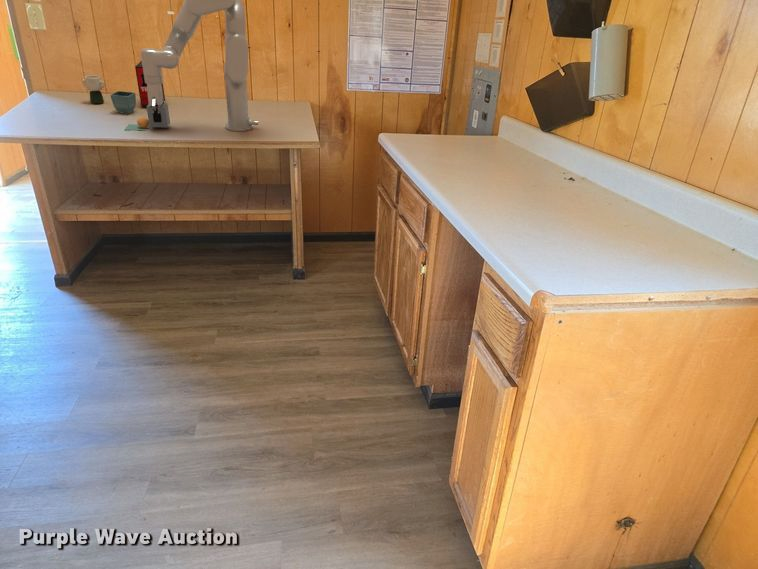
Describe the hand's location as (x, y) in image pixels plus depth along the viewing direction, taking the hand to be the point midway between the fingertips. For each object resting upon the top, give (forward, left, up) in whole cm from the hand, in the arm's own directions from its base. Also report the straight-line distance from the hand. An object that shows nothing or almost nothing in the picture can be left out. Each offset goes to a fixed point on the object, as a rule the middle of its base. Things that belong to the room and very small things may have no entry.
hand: (159, 119), depth 240 cm
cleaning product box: (+10, -43, -4) cm, 44 cm away
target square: (+10, 0, -4) cm, 11 cm away
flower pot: (+20, -26, -4) cm, 33 cm away
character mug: (+37, -42, -4) cm, 56 cm away
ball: (+7, 0, -2) cm, 7 cm away
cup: (0, 0, -2) cm, 2 cm away
